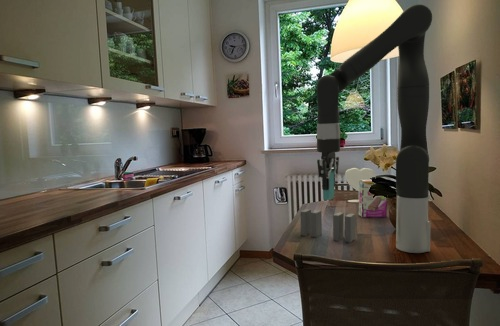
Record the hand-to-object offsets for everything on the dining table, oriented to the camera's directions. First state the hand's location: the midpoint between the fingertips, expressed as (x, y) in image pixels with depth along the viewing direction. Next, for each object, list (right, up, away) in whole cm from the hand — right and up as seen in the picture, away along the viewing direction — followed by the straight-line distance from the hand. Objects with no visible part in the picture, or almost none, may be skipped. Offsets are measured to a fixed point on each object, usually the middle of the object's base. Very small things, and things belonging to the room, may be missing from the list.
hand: (328, 188), depth 121 cm
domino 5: (+9, -19, +6) cm, 22 cm away
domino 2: (-2, -18, +13) cm, 23 cm away
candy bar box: (+28, -16, +40) cm, 52 cm away
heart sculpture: (+34, -12, +76) cm, 84 cm away
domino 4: (+5, -19, +8) cm, 21 cm away
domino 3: (0, -3, 0) cm, 3 cm away
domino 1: (-5, -18, +15) cm, 24 cm away
